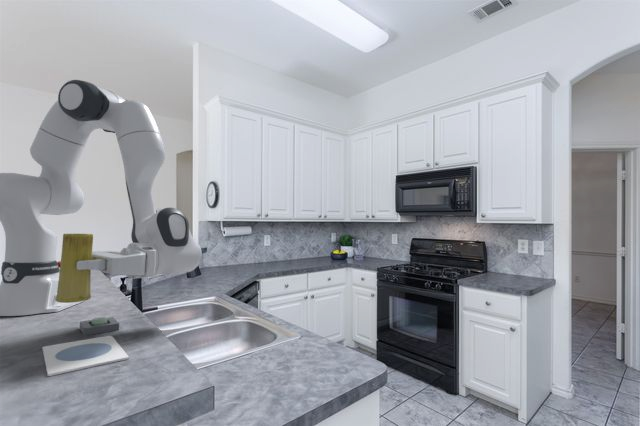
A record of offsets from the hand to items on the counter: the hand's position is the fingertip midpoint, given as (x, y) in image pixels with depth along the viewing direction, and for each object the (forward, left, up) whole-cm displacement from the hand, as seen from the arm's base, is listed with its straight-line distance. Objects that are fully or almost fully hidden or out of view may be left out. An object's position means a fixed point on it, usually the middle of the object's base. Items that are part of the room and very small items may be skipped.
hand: (70, 263), depth 69 cm
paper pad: (+4, +8, -17) cm, 19 cm away
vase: (-1, +1, -8) cm, 8 cm away
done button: (-11, 0, -17) cm, 20 cm away
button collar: (-11, 0, -17) cm, 20 cm away
